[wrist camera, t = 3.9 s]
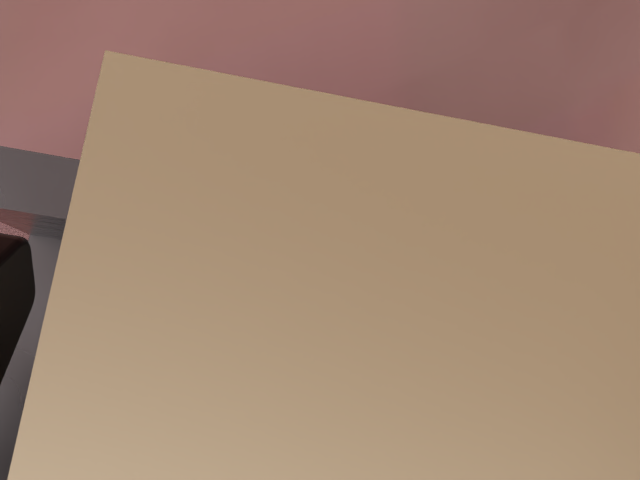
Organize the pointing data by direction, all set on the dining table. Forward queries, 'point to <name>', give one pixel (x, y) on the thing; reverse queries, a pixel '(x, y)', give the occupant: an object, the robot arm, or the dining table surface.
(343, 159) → the birch board
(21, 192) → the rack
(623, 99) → the dining table surface
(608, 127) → the dining table surface
